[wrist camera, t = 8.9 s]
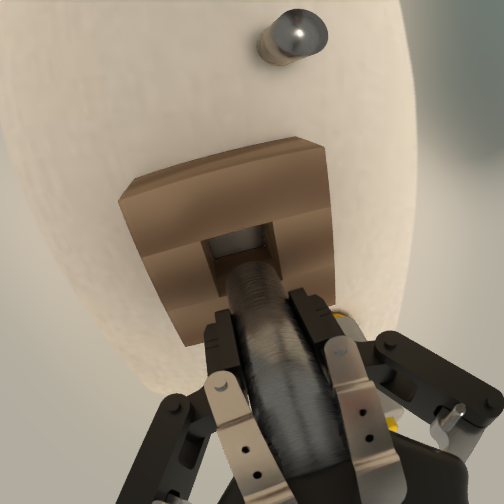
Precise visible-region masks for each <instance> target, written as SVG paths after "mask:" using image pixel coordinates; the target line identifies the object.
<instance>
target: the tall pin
mask: <svg viewBox="0 0 504 504" xmlns="http://www.w3.org/2000/svg"><path fill="white" fill-rule="evenodd" d="M226 293H227V298H228V303H229V308H230V312H231V315H232V320H233V324H234V329H235V334H236V339H237V343H238V348H239V352H240V357H241V361H242V366H243V370H244V375H245V383H246V387H247V392H248V396H249V400H250V404H251V408H252V413H253V416H254V419H255V421H256V423H257V425H258V427H259V429H260V431H261V433H262V435H263V437H264V439H265V441H266V444H267V446H268V447H270V446H272V447H273V450H274V454H275V456H278V457H279V459H280V462H281V465H282V468H283V472H284V475H285V479H286V480H288V479H291V478H295V477H299V476H302V475H305V474H309V473H312V472H315V471H318V470H321V469H324V468H327V467H330V466H333V465H335V464H338V463H341V462H343V461H346V460H348V459H349V456H348V453H347V450H346V448H345V446H344V443H343V441H342V435H343V433H342V430H341V428H340V426H339V424H342V422H341V419H340V416H339V415H338V412H337V408H336V404H335V401H334V396H333V392H332V390H331V387H330V385H329V383H328V381H327V379H326V377H325V374H324V372H323V370H322V368H321V366H320V364H319V361H318V359H317V357H316V355H315V353H314V351H313V349H312V347H311V345H310V343H309V340H308V338H307V336H306V334H305V332H304V330H303V328H302V326H301V323H300V321H299V319H298V317H297V315H296V313H295V311H294V309H293V306H292V304H291V302H290V300H289V298H288V296H287V294H286V292H285V289H284V287H283V285H282V283H281V281H280V279H279V277H278V275H277V273H276V271H275V269H274V268H273V267H272V266H270V265H269V264H267V263H265V262H261V261H250V262H246V263H243V264H241V265H239V266H237V267H236V268H235V269H233V270H232V271H231V273H230V274H229V276H228V277H227V280H226Z"/></svg>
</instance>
